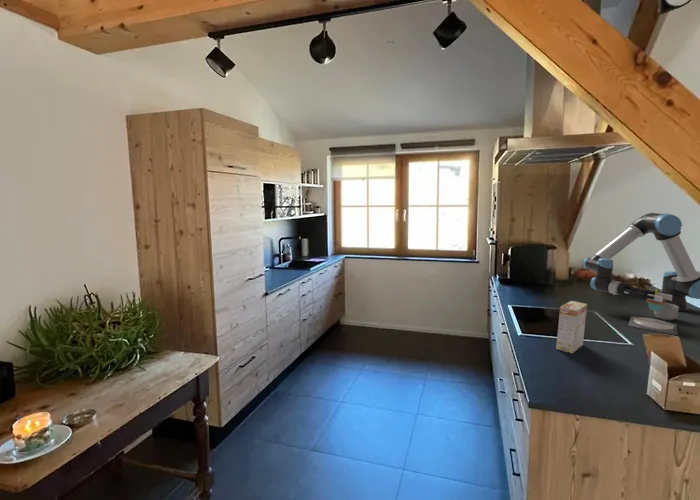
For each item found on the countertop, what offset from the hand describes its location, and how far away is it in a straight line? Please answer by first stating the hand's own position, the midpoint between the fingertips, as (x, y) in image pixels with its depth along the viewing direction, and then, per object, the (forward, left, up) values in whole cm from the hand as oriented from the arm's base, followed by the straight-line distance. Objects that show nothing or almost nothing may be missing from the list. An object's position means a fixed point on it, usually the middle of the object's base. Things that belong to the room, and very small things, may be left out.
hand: (666, 298), depth 197 cm
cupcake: (-2, -4, -7) cm, 9 cm away
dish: (-2, -4, -16) cm, 17 cm away
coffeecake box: (+62, -32, -16) cm, 72 cm away
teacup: (-24, 0, -16) cm, 29 cm away
